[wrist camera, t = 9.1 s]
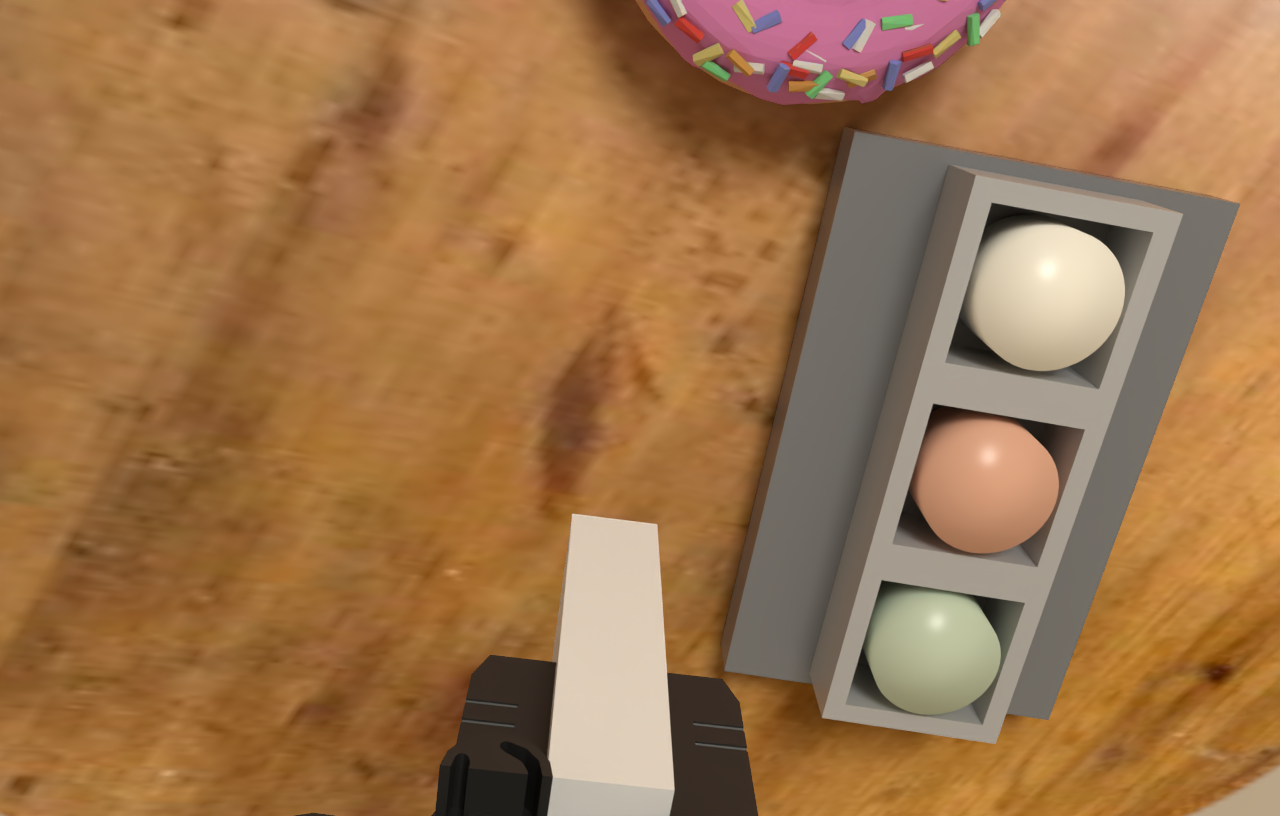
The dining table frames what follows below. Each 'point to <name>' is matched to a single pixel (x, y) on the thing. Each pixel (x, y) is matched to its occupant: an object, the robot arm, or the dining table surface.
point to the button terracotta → (982, 480)
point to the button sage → (930, 648)
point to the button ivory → (1042, 292)
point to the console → (963, 378)
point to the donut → (819, 42)
